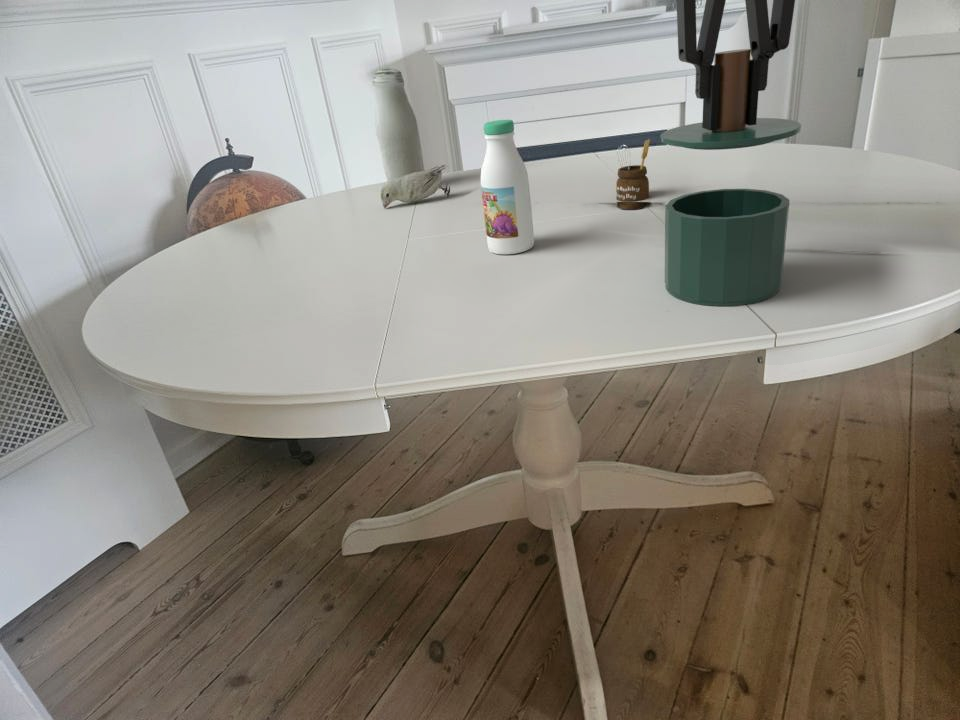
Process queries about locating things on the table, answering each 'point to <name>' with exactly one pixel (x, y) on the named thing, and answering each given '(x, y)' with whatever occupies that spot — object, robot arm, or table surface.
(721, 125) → the lid
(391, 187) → the decorative bird
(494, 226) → the milk bottle
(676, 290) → the canister
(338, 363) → the table surface
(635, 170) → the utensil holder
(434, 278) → the table surface
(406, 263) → the table surface
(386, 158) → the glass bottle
